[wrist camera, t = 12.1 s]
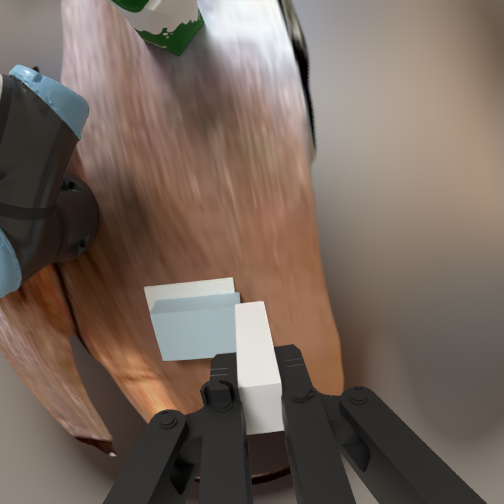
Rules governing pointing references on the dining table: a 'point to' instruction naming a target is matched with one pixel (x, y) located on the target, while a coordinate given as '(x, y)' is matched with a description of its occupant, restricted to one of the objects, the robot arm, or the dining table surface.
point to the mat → (188, 290)
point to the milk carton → (163, 21)
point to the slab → (195, 326)
